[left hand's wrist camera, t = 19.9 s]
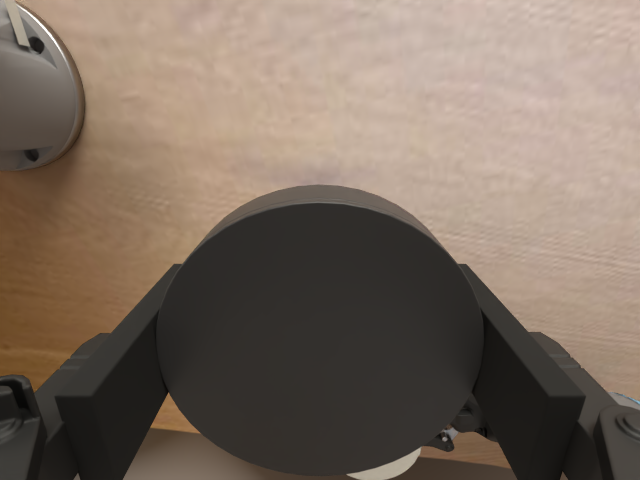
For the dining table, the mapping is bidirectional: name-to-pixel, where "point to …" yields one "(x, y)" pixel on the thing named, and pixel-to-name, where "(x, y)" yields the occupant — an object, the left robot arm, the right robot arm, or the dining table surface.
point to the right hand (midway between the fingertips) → (318, 361)
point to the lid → (320, 333)
